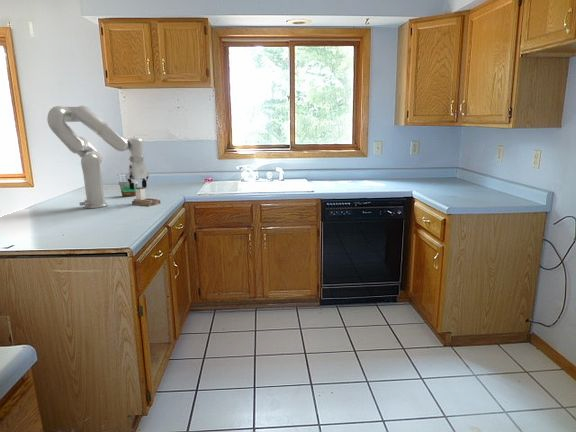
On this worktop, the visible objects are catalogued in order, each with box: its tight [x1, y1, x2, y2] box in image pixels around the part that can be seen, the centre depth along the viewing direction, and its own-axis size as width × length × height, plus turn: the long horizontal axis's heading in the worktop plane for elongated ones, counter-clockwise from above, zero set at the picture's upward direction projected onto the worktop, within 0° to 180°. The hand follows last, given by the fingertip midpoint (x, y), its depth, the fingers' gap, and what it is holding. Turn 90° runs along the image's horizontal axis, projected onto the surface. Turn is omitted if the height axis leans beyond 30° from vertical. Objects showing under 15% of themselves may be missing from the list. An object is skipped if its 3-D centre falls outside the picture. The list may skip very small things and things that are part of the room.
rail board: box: [131, 197, 162, 207], centre depth 250 cm, size 9×14×3 cm, turn 63°
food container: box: [118, 180, 139, 198], centre depth 276 cm, size 12×6×10 cm, turn 105°
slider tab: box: [135, 186, 147, 200], centre depth 251 cm, size 4×4×7 cm
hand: (138, 188), depth 250 cm, fingers open, 9 cm apart
